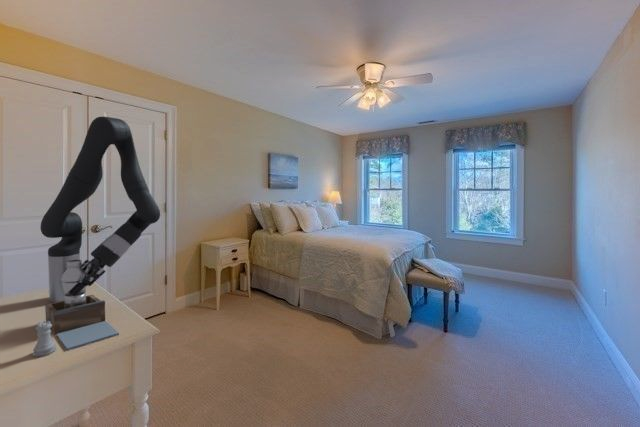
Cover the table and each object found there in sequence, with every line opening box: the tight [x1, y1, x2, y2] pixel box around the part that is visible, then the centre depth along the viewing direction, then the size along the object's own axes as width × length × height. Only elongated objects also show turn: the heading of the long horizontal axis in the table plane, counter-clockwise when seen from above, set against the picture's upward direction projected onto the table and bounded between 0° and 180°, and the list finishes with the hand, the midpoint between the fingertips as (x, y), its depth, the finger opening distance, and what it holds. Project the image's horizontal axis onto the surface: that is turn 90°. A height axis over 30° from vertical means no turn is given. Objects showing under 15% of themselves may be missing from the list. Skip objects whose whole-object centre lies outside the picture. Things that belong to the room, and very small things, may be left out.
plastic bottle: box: [61, 259, 87, 309], centre depth 95 cm, size 6×7×20 cm
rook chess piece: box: [32, 320, 57, 358], centre depth 78 cm, size 4×4×8 cm
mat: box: [56, 320, 120, 351], centre depth 88 cm, size 12×12×1 cm
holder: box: [44, 294, 106, 336], centre depth 96 cm, size 13×12×7 cm
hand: (68, 291), depth 94 cm, fingers closed on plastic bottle, 6 cm apart
